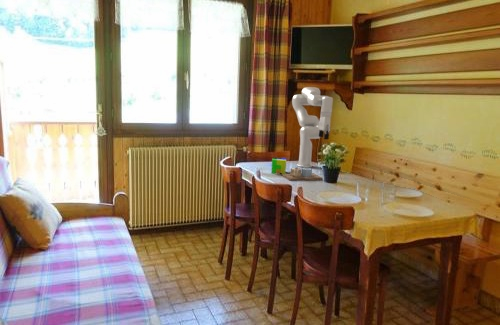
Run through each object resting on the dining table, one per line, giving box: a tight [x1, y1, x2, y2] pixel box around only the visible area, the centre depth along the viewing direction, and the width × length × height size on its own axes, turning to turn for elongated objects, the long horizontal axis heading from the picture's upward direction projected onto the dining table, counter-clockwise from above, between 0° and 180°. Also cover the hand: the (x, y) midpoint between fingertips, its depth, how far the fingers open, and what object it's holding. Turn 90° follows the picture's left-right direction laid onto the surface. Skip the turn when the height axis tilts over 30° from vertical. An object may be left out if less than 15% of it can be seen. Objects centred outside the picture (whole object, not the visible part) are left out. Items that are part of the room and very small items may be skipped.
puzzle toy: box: [271, 156, 287, 175], centre depth 285 cm, size 10×10×10 cm
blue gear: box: [301, 167, 313, 177], centre depth 272 cm, size 7×7×5 cm
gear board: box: [281, 166, 323, 182], centre depth 271 cm, size 14×24×8 cm, turn 105°
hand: (323, 138), depth 282 cm, fingers open, 9 cm apart
